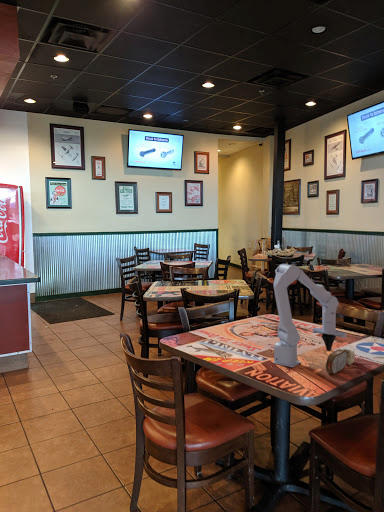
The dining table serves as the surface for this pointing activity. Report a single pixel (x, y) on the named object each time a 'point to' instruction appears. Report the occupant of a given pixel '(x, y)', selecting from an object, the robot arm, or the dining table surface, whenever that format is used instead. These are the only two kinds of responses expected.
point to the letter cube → (349, 356)
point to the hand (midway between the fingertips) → (328, 350)
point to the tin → (336, 361)
